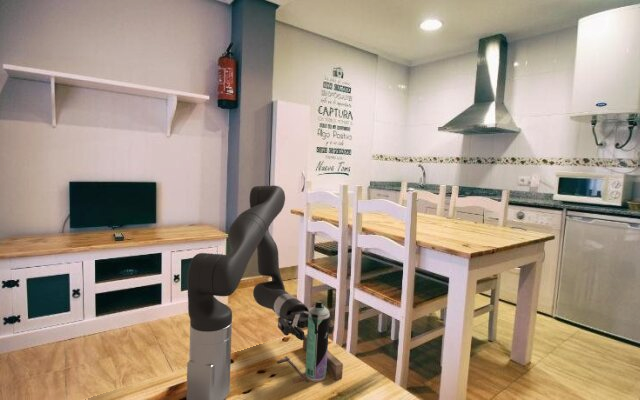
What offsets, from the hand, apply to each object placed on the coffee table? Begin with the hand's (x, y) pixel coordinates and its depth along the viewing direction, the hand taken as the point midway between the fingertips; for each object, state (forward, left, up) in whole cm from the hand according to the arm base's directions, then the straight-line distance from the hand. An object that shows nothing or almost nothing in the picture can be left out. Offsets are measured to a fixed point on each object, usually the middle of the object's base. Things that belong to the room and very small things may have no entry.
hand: (317, 333), depth 91 cm
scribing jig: (+3, +4, -11) cm, 12 cm away
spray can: (0, 0, -12) cm, 12 cm away
